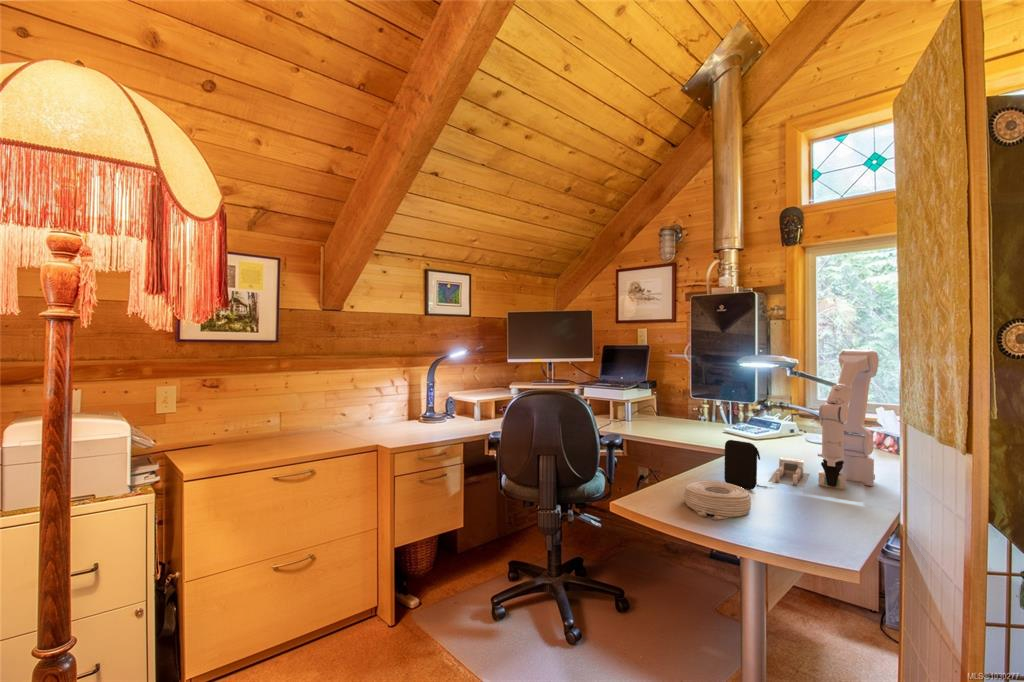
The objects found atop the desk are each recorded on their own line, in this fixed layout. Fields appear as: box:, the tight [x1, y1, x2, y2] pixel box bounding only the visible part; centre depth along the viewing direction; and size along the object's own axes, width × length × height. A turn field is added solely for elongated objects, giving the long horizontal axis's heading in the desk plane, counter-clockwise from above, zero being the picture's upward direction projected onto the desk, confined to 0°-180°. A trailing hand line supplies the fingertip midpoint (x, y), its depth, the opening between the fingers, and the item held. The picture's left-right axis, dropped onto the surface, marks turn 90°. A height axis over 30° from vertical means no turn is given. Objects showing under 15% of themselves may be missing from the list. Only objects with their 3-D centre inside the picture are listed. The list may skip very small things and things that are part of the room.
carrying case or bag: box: [723, 439, 761, 491], centre depth 152 cm, size 11×3×15 cm, turn 44°
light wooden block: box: [818, 469, 847, 490], centre depth 152 cm, size 7×4×5 cm, turn 53°
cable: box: [682, 480, 752, 521], centre depth 134 cm, size 18×18×6 cm
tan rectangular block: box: [778, 456, 805, 477], centre depth 165 cm, size 7×4×5 cm, turn 53°
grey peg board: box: [767, 466, 811, 488], centre depth 161 cm, size 10×19×4 cm, turn 143°
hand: (832, 484), depth 152 cm, fingers closed on light wooden block, 4 cm apart
